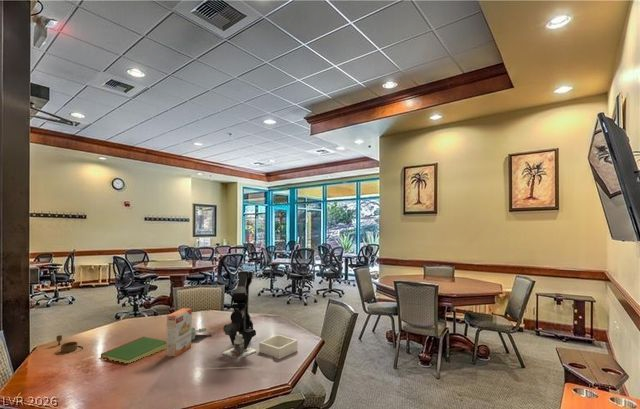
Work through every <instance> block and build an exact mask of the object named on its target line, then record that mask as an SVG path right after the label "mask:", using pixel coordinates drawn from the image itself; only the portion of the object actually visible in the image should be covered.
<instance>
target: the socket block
mask: <svg viewBox="0 0 640 409" xmlns="http://www.w3.org/2000/svg"><path fill="white" fill-rule="evenodd" d="M255 353H257V349H255V348H251V347H250V346H248V347H247V349H246V350H245V353H242V354H240V355H237V354H234V347H232V348H229V349H228V350H224V351H222V352H221V354H222V355H224V356H228V357H231V358H234V359H237V360H239V359H240V360H241V359H242V358H244V357H245V358H246V357H248V356H250V355H253V354H255Z"/></svg>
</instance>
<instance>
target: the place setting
mask: <svg viewBox="0 0 640 409" xmlns="http://www.w3.org/2000/svg"><path fill="white" fill-rule="evenodd" d="M55 340H56V342H57V343H58V344H57V345H58V346H60V348H59V349H58V350H56V351H54V354H56V353H57V352H58V351H61V353H63V354H66V353H67V354H68V353H72V352H73V353H74V354H75V353H78V352H81V351H82V350H84V347H83V346H82V345H78V341H69V342H65V343H63V344H61V341H63V335H62V334H60V335H57V336H56V339H55ZM78 348H81V349H80V350H78ZM76 350H77V351H76ZM75 351H76V352H75Z"/></svg>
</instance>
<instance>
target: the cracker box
mask: <svg viewBox="0 0 640 409" xmlns="http://www.w3.org/2000/svg"><path fill="white" fill-rule="evenodd" d="M192 313H193V309H192V308H189V307H188V308H186V307H182V308H180V309H177V310H176V311H174V312H172V313H170V314H168V315H166V340H165V341H166V349H165V350H166V351H165V356H166V357H171V356H174V357H173V358H175V357H178V356H180V355H181V354H182V353H184V352H186V351H188V350H189V349H190V348H191V347H192V339H191V328H192V323H193V322H192V320H193V319H192V318H193V317H192V315H193V314H192Z"/></svg>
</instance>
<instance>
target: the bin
mask: <svg viewBox="0 0 640 409" xmlns="http://www.w3.org/2000/svg"><path fill="white" fill-rule="evenodd" d="M258 352H259V353H262V354H265V355H269V356H271V357H273V358H275V359H278V360H280V359H282V358H285V357H286V356H289V355H291V354H293V353H296V352H298V340H297V339H295V338H292V337H289V336H288V337H287V336H285V335H281V334H276V335H273V336H271V337H268V338H266V339H265V340H262V341H259V342H258Z"/></svg>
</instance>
